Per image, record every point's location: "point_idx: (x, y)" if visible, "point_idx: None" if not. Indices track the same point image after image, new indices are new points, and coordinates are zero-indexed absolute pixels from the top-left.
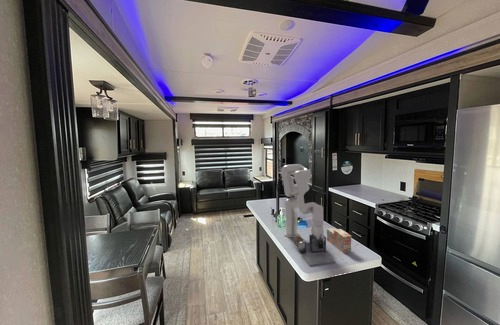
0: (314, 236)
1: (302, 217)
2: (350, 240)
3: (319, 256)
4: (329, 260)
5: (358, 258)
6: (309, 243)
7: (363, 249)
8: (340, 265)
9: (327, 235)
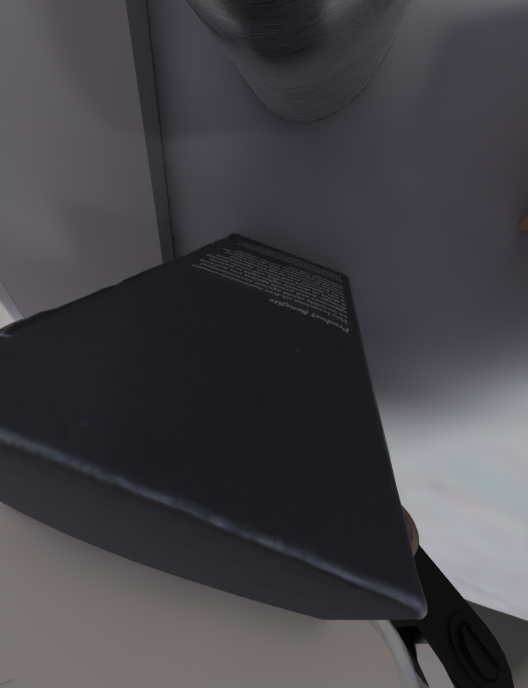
0: (60, 557)
1: None
2: None
3: (73, 235)
4: (20, 282)
5: None
6: (351, 308)
7: None
8: (15, 317)
9: None
